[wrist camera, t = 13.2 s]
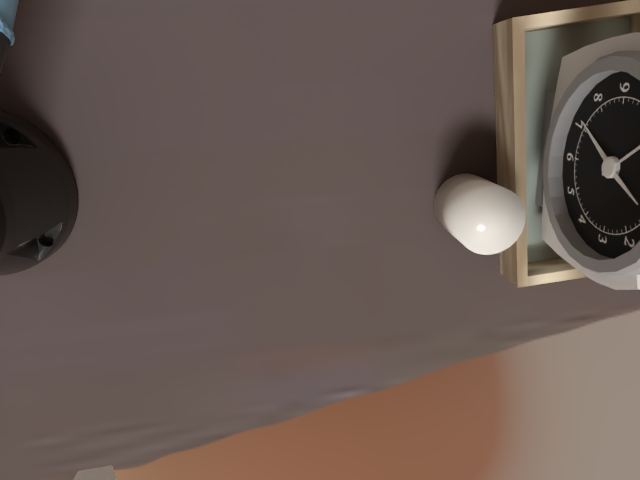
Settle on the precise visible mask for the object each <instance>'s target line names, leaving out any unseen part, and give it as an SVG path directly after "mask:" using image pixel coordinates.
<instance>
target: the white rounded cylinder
mask: <svg viewBox="0 0 640 480" xmlns="http://www.w3.org/2000/svg"><path fill="white" fill-rule="evenodd" d="M433 209H434V214H435V217H436V219H437V221H438V222H439V223H440V224H441V225H442V226H443V227H444V228H445V229H446V230H447V231H448V232H450V233H451V234H452V235H453V236H454V237H455V238H456V239H457V240H459V241H460V242H461V243H462V244H463V245H464V246H465V247H466V248H468V249H469V250H471V251H473V252H475V253H478V254H483V255H490V254H496V253H499V252H502V251H504V250H506V249H507V248H509V247H510V246H511V245H513V244H514V243H515V242H516V240H517V239H518V238H519V236H520V235H521V233H522V231H523V228H524V225H525V218H526V215H525V208H524V205H523V203H522V201H521V200H520V198H519V197H518V196H517V195H516V194H515V193H514V192H512V191H510V190H508V189H506V188H504V187H502V186H499V185H497V184H495V183H493V182H490V181H488V180H486V179H484V178H481V177H479V176H477V175H474V174H466V173H465V174H458V175H455V176H453V177H451V178H449V179H448V180H446V181H445V182H444V183H443V184H442V185H441V186H440V187H439V189H438V191H437V192H436V195H435V198H434V203H433Z"/></svg>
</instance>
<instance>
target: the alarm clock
mask: <svg viewBox="0 0 640 480" xmlns="http://www.w3.org/2000/svg"><path fill="white" fill-rule="evenodd" d="M535 204H536V205H538V206H540V207H542V208H543V211H542V239H543V240H544V241H545V242H546V243H547V244H548V245H549V246H550V247H551V248H552V249H553V250H554V251H555V252H556V253H557V254H558V255H559V256H560V257H562V258H563V259H564V260H565V261H567V262H568V263H569V264H571V265H572V266H573V267H574V268H576V269H577V270H578V271H580V272H581V273H583V274H584V275H586V276H587V277H589V278H590V279H592V280H593V281H595V282H597V283H600V284H602V285H605V286H607V287H610V288H612V289H615V290H639V289H640V33H629V34H624V35H620V36H616V37H611V38H608V39H605V40H602V41H599V42H596V43H593V44H590V45H587V46H585V47H583V48H581V49H578V50H576V51H574V52H572V53H570V54H568V55H566V56H564V57H562V61H561V66H560V71H559V76H558V81H557V86H556V92H547V93H546V102H545V112H544V121H543V131H542V140H541V150H540V159H539V169H538V178H537V188H536V197H535Z"/></svg>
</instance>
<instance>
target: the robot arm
mask: <svg viewBox="0 0 640 480" xmlns="http://www.w3.org/2000/svg"><path fill="white" fill-rule="evenodd" d="M18 3H19V0H0V75H1V71H2V67H3V63H4V60H5V56H6V52H7V48H8V45H10V46H12V45H13V44H14V41H15V36H14V33H13V26H14V22H15V17H16V12H17V7H18ZM77 210H78V195H77V188H76V184H75V180H74V177H73V174H72V172H71V169H70V167H69V165H68V163H67V161H66V160H65V158H64V156H63V155H62V153H61V152H60V151H59V149H58V148H57V147H56V146H55V144H54V143H53V142H52V141H51V140H50V139H49V138H48V137H47V136H46V135H45V134H43V133H42V132H41V131H40V130H38V129H37V128H36V127H34V126H33V125H31V124H30V123H28V122H26V121H25V120H23V119H21V118H19V117H16V116H14V115H12V114H9V113H6V112H2V111H0V275H8V274H13V273H17V272H20V271H23V270H26V269H29V268H31V267H33V266H35V265H37V264H38V263H40V262H41V261H43V260H45V259H46V258H48V257H49V256H51V255H52V254H53V253H55V252H56V251H57V250H58V249H59V248H60V247H61V246H62V245H63V244H64V242H65V241H66V240H67V238H68V237H69V235H70V233H71V231H72V229H73V227H74V224H75V221H76V216H77ZM73 480H117V478H116V475H115V472H114V469H113V466H112V465H111V466H105V467H99V468H93V469H88V470H82V471H78V472H77V474H76V476H75V478H74V479H73Z"/></svg>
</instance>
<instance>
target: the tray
mask: <svg viewBox="0 0 640 480" xmlns="http://www.w3.org/2000/svg"><path fill="white" fill-rule="evenodd" d="M629 33H640V0H627V1H621V2H614V3H607V4H600V5H594V6H587V7H580V8H574V9H567V10H560V11H554V12H547V13H540V14H533V15H527V16H520V17H513V18H510V19H507V20H504V21H501V22H499V23H496V24H493V54H494V86H495V118H496V150H497V182H498V185H499V186H502V187H504V188H506V189H508V190H510V191H512V192H514V193H515V194H516V195H517V196H518V197H519V198H520V200H521V201H522V203H523V205H524V208H525V215H526V218H525V225H524V228H523V231H522V233H521V235H520V236H519V238H518V239H517V240H516V242H515V243H514V244H513V245H511V246H510V247H509V248H507V249H506V250H504V251H502V252H500V273H501V274H502V275H504V276H505V277H506V278H507V279H508V280H509V281H511V282H512V283H513V284H514V285H515V286H516V287H517V288H518V287H525V286H531V285H538V284H544V283H551V282H557V281H564V280H570V279H577V278H583V277H587V276H586V275H584V274H583V273H581V272H580V271H578V270H577V269H576V268H574V267H573V266H572V265H571V264H569V263H568V262H567V261H565V260H564V259H563V258H562V257H560V256H559V255H558V254H557V253H556V252H555V251H554V250H553V249H552V248H551V247H550V246H549V245H548V244H547V243H546V242H545V241H544V240H543V239H542V211H543V208H542V207H540V206H538V205H536V204H535V197H536V188H537V178H538V169H539V159H540V150H541V140H542V131H543V121H544V112H545V102H546V93H547V92H556V86H557V81H558V76H559V71H560V66H561V61H562V57H564V56H566V55H568V54H570V53H572V52H574V51H576V50H578V49H581V48H583V47H585V46H587V45H590V44H593V43H596V42H599V41H602V40H605V39H608V38H611V37H616V36H620V35H624V34H629Z"/></svg>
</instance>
